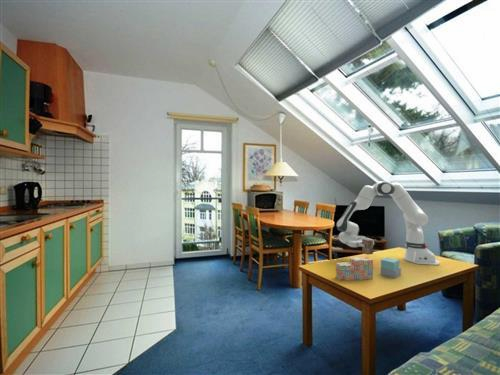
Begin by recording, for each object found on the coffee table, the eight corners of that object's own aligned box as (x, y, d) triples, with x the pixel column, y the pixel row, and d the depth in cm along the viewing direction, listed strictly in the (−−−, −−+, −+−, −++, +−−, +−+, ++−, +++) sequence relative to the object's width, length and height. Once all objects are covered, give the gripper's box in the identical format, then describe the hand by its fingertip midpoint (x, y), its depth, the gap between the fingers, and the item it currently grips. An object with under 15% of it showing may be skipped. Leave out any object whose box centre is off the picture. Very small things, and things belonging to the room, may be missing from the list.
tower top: (386, 264, 170) (386, 257, 170) (399, 267, 164) (399, 260, 164) (380, 267, 165) (381, 259, 165) (394, 270, 159) (394, 262, 159)
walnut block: (367, 252, 184) (367, 238, 184) (373, 254, 179) (373, 240, 179) (362, 252, 183) (362, 239, 182) (367, 254, 178) (367, 240, 178)
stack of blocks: (340, 280, 155) (340, 260, 155) (335, 276, 161) (335, 257, 161) (373, 279, 157) (373, 259, 157) (367, 275, 164) (367, 256, 163)
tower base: (386, 271, 171) (386, 264, 171) (400, 275, 164) (401, 267, 164) (380, 274, 166) (380, 267, 165) (395, 278, 159) (395, 270, 158)
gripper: (343, 238, 190) (356, 242, 177) (365, 235, 196) (379, 239, 183) (343, 246, 190) (356, 251, 177) (365, 243, 196) (379, 248, 183)
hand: (368, 245), depth 180 cm, fingers closed on walnut block, 5 cm apart
